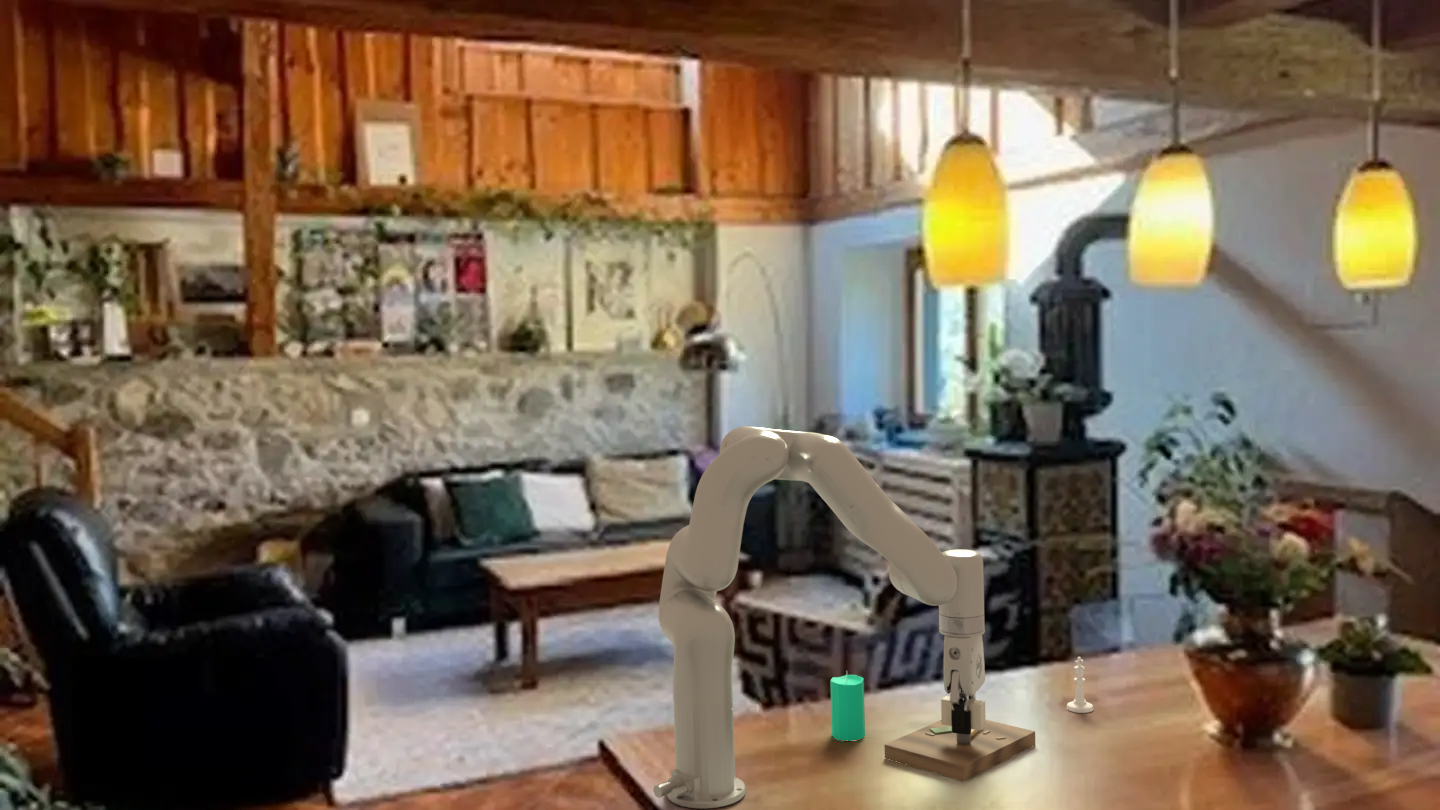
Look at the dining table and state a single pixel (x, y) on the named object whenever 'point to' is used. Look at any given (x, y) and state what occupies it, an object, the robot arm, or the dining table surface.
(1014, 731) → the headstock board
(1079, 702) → the chess piece
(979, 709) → the wooden toy mallet
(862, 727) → the candle
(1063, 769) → the dining table surface
